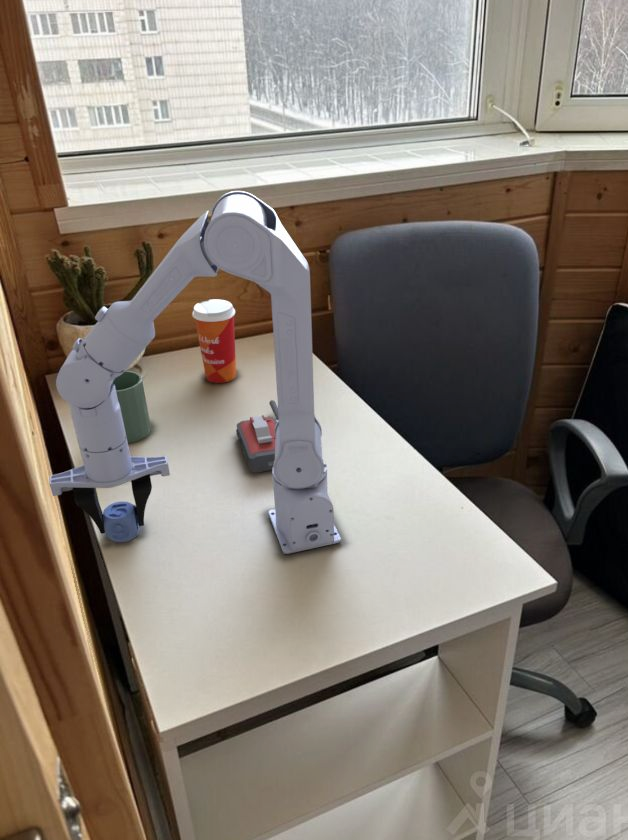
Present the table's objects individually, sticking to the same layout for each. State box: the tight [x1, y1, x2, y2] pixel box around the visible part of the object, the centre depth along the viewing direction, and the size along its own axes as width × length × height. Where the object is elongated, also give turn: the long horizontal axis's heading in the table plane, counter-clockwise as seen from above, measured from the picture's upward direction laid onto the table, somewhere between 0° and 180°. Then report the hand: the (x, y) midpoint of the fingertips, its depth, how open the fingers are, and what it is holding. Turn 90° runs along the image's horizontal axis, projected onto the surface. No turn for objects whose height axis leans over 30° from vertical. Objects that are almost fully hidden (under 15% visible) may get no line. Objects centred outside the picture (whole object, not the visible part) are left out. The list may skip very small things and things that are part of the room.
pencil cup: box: [113, 370, 152, 444], centre depth 118 cm, size 7×7×10 cm
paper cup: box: [191, 298, 237, 384], centre depth 133 cm, size 8×8×14 cm
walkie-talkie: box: [235, 399, 279, 474], centre depth 117 cm, size 9×4×20 cm
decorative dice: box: [102, 500, 140, 543], centre depth 98 cm, size 4×4×4 cm
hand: (122, 525), depth 98 cm, fingers closed on decorative dice, 4 cm apart
